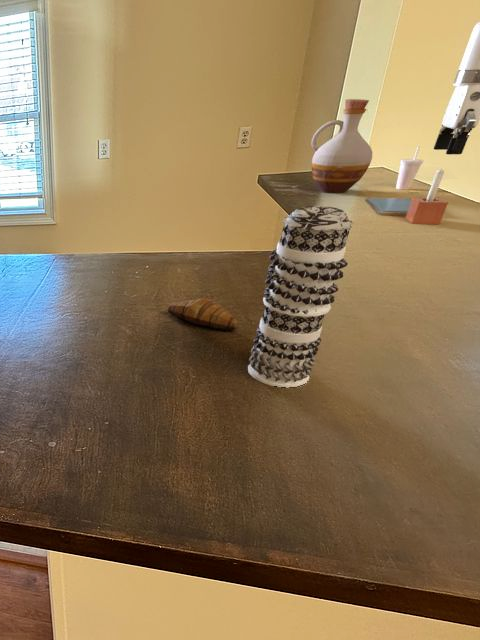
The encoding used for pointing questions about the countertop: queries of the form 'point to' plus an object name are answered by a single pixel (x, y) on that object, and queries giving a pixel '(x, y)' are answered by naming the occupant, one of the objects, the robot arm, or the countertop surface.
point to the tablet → (390, 205)
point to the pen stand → (426, 210)
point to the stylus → (435, 185)
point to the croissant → (204, 313)
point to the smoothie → (408, 172)
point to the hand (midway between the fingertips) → (446, 151)
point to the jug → (342, 152)
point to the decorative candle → (299, 294)
